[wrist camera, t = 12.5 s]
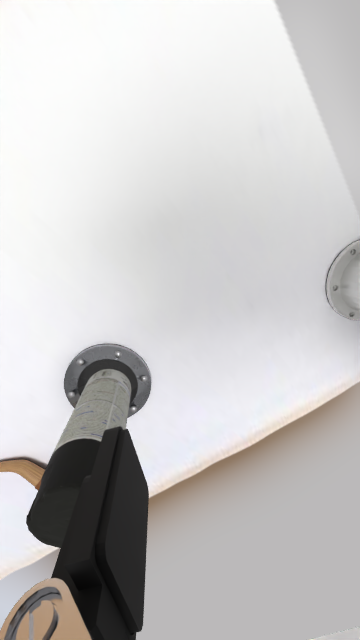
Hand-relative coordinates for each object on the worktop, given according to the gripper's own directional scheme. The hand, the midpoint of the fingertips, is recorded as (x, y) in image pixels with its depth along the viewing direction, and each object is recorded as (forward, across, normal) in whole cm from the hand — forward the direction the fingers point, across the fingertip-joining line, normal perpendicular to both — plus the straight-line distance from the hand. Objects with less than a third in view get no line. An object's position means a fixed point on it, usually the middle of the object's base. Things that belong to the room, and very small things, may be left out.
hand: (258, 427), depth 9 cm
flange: (+29, +15, +12) cm, 35 cm away
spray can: (+28, +14, +12) cm, 33 cm away
